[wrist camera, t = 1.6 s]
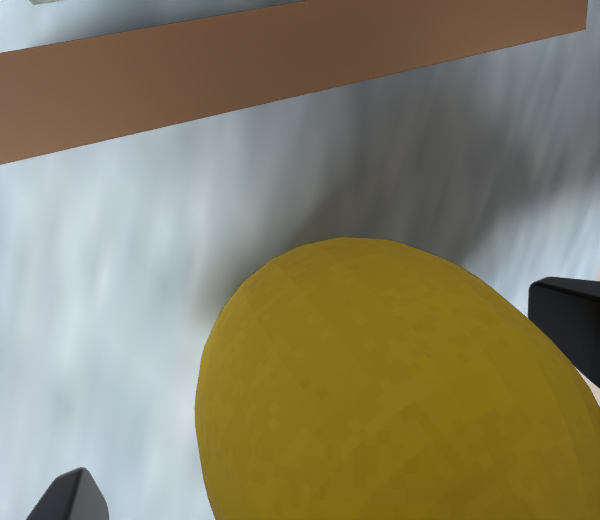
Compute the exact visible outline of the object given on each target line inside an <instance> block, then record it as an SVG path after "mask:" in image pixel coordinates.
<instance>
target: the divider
mask: <svg viewBox="0 0 600 520" xmlns="http://www.w3.org/2000/svg"><path fill="white" fill-rule="evenodd" d="M587 4H588V0H305V1H299V2H293V3H287V4H281V5H276V6H270V7H264V8H258V9H252V10H246V11H241V12H235V13H229V14H223V15H217V16H212V17H206V18H200V19H194V20H188V21H183V22H177V23H171V24H165V25H159V26H154V27H148V28H142V29H136V30H130V31H125V32H119V33H113V34H107V35H101V36H96V37H90V38H84V39H78V40H72V41H67V42H61V43H55V44H49V45H43V46H38V47H32V48H26V49H20V50H14V51H8V52H3V53H0V165H1V164H6V163H10V162H14V161H19V160H23V159H27V158H32V157H36V156H40V155H45V154H49V153H53V152H58V151H62V150H66V149H70V148H75V147H79V146H83V145H88V144H92V143H96V142H101V141H105V140H109V139H114V138H118V137H122V136H127V135H131V134H135V133H140V132H144V131H148V130H153V129H157V128H161V127H166V126H170V125H174V124H179V123H183V122H187V121H192V120H196V119H200V118H205V117H209V116H213V115H218V114H222V113H226V112H231V111H235V110H239V109H243V108H248V107H252V106H256V105H261V104H265V103H269V102H274V101H278V100H282V99H287V98H291V97H295V96H300V95H304V94H308V93H313V92H317V91H321V90H326V89H330V88H334V87H339V86H343V85H347V84H352V83H356V82H360V81H365V80H369V79H373V78H378V77H382V76H386V75H391V74H395V73H399V72H403V71H408V70H412V69H416V68H421V67H425V66H429V65H434V64H438V63H442V62H447V61H451V60H455V59H460V58H464V57H468V56H473V55H477V54H481V53H486V52H490V51H494V50H499V49H503V48H507V47H512V46H516V45H520V44H525V43H529V42H533V41H538V40H542V39H546V38H551V37H555V36H559V35H564V34H568V33H572V32H576V31H581V30H585V29H586V17H587Z"/></svg>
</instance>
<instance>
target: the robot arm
mask: <svg viewBox="0 0 600 520" xmlns="http://www.w3.org/2000/svg"><path fill="white" fill-rule="evenodd" d="M528 319H529V320H530V321H532V322H533V323H534V324H535V325H536V326H537V327H538V328H539V329H540V330H541V331H542V332H543V333H544V334H545V335H546V336H547V337H548V338H549V339H550V340H552V342H553V343H554V344H555V345H556V346H557V347H558V348H559V349H560V350H561V352H562V353H563V354H564V355H565V356H566V357H567V358H568V359H569V360H570V362H571V363H572V364H573V365H574V366H575V367H576V368H577V369H578V370H579V371H580V372H581V373H582V374H583V375H584V376H586V377H587V378H588V379H589V380H590V381H591V382H593V383H594V384H595V385H596V386H597V387H599V388H600V281H590V280H580V279H570V278H559V277H546V278H543V279H541V280H538V281H536V282H534V283H532V284H531V285H530V287H529V297H528ZM26 520H109V512H108V507H107V503H106V501H105V499H104V497H103V495H102V493H101V491H100V490H99V488H98V486H97V485H96V483H95V481H94V479H93V478H92V476H91V474H90V472H89V471H88V470H87V469H86V468H83V467H80V468H77V469H75V470H72V471H70V472H67V473H65V474H62V475H60V476H58V477H57V478H56V479H55V480H54V481H53V482H52V483H51V485H50V486H49V488H48V489H47V490H46V492H45V493H44V495H43V496H42V498H41V499H40V500H39V502H38V503H37V505H36V506H35V507H34V509H33V510H32V512H31V513H30V514H29V516H28V517H27V519H26Z"/></svg>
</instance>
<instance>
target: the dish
mask: <svg viewBox="0 0 600 520" xmlns="http://www.w3.org/2000/svg"><path fill="white" fill-rule="evenodd" d="M30 1H31V2H32V3H33V4H34V5H36V4H42V3H49V2H56V1H62V0H30Z"/></svg>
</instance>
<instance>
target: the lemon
mask: <svg viewBox="0 0 600 520" xmlns="http://www.w3.org/2000/svg"><path fill="white" fill-rule="evenodd" d="M195 427H196V434H197V441H198V448H199V454H200V460H201V467H202V473H203V479H204V483H205V487H206V491H207V495H208V499H209V502H210V505H211V508H212V511H213V514H214V517H215V520H600V407H599V405H598V403H597V401H596V400H595V397H594V396H593V394H592V392H591V390H590V388H589V386H588V385H587V383H586V382H585V381H584V379H583V378H582V377H581V375H580V374H579V372H578V371H577V370H576V368H575V367H574V366H573V364H572V363H571V362H570V360H569V359H568V358H567V357H566V356H565V355H564V354H563V353H562V352H561V350H560V349H559V348H558V347H557V346H556V345H555V344H554V343H553V342H552V340H550V339H549V338H548V337H547V336H546V335H545V334H544V333H543V332H542V331H541V330H540V329H539V328H538V327H537V326H536V325H535V324H534V323H533V322H532V321H530V320H529V319H528V318H527V317H526V316H525V315H523V314H522V313H521V312H520V311H519V310H518V309H516V308H515V307H514V306H513V305H512V304H510V303H509V302H508V301H507V300H506V299H505V298H503V297H502V296H501V295H500V294H499V293H497V292H496V291H495V290H494V289H493V288H492V287H490V286H489V285H487V284H486V283H485V282H483V281H482V280H481V279H479V278H478V277H476V276H475V275H473V274H472V273H470V272H468V271H467V270H465V269H463V268H462V267H460V266H458V265H456V264H454V263H452V262H450V261H448V260H446V259H444V258H441V257H438V256H436V255H433V254H430V253H427V252H425V251H422V250H419V249H416V248H414V247H411V246H408V245H405V244H402V243H399V242H396V241H391V240H386V239H374V238H353V237H337V238H333V239H328V240H323V241H318V242H314V243H309V244H304V245H300V246H298V247H296V248H294V249H292V250H290V251H288V252H286V253H284V254H282V255H279V256H277V257H275V258H273V259H271V260H270V261H268V262H267V263H266V264H265V265H263V266H262V267H261V268H260V269H258V270H257V271H256V272H255V273H254V274H252V275H251V276H250V277H249V278H247V279H246V280H245V281H244V282H243V283H242V284H241V285H240V287H239V288H238V289H237V290H236V292H235V293H234V294H233V296H232V297H231V298H230V299H229V301H228V302H227V303H226V304H225V306H224V307H223V308H222V310H221V312H220V314H219V316H218V318H217V320H216V322H215V324H214V327H213V329H212V331H211V333H210V335H209V338H208V340H207V342H206V344H205V346H204V350H203V354H202V358H201V364H200V370H199V377H198V384H197V390H196V399H195Z"/></svg>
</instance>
